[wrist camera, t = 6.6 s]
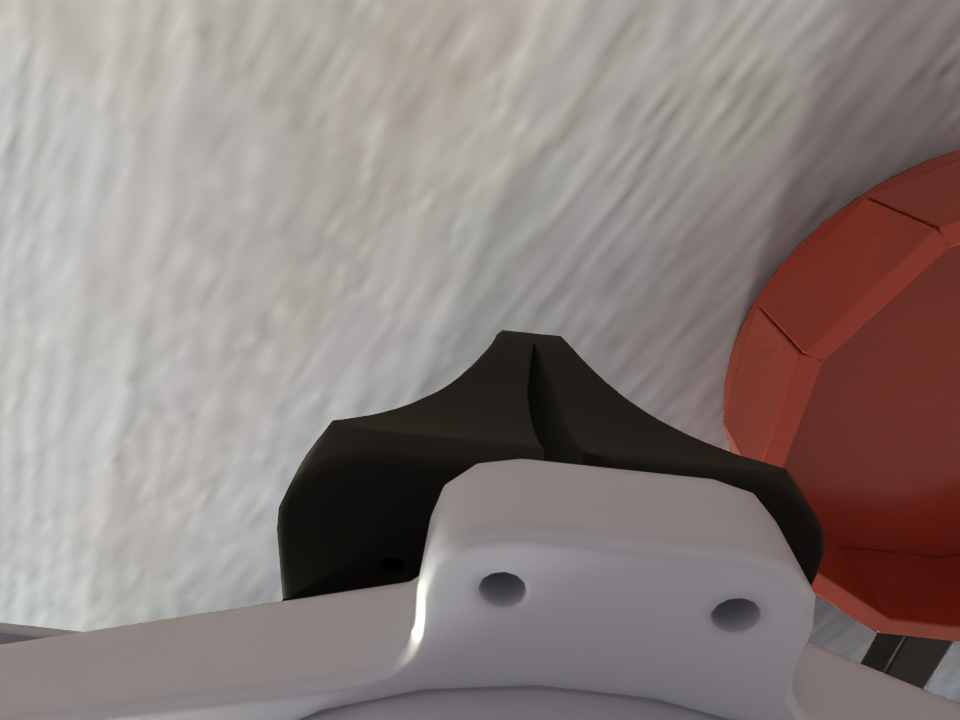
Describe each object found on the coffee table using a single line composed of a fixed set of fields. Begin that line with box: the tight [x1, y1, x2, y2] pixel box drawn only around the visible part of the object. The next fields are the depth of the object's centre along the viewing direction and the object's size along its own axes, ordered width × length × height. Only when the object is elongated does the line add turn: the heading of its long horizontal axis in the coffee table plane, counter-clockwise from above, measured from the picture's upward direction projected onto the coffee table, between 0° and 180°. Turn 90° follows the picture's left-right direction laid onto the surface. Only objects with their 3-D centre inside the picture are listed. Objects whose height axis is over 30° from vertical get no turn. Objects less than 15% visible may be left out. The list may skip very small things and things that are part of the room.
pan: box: [723, 150, 960, 689], centre depth 15 cm, size 17×11×3 cm, turn 175°
